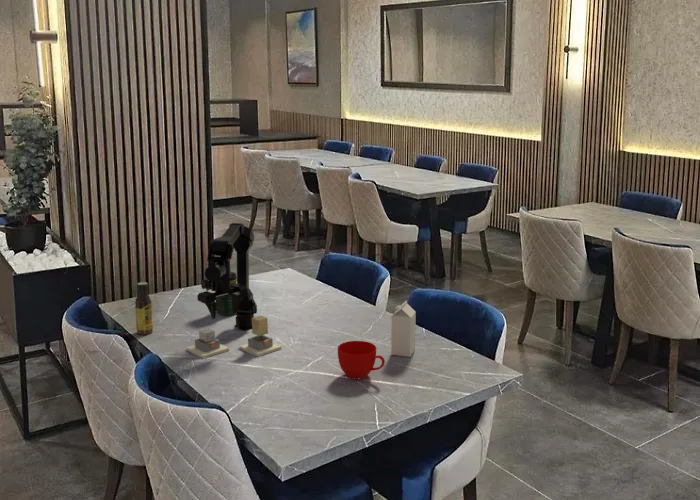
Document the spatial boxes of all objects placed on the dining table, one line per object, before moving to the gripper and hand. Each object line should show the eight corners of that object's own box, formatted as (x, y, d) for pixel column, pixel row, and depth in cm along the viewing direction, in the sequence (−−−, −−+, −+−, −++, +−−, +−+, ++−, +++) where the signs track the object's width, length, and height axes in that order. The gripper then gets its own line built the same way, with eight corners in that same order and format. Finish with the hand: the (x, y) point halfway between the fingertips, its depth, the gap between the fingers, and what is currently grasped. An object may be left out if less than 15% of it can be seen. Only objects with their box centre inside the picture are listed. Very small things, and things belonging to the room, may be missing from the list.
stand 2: (263, 341, 282) (263, 331, 281) (281, 348, 274) (281, 338, 274) (239, 348, 275) (239, 338, 274) (257, 356, 267) (257, 346, 266)
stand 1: (211, 342, 280) (211, 332, 280) (228, 350, 273) (228, 340, 272) (186, 350, 273) (185, 339, 272) (203, 358, 265) (202, 347, 264)
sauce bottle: (148, 335, 288) (145, 286, 283) (133, 334, 289) (130, 285, 284) (156, 330, 294) (153, 281, 289) (141, 329, 295) (138, 280, 290)
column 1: (209, 343, 275) (208, 328, 274) (215, 346, 273) (214, 331, 271) (199, 346, 273) (198, 330, 271) (205, 349, 270) (205, 333, 268)
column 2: (261, 330, 276) (260, 315, 275) (268, 333, 273) (267, 318, 272) (251, 333, 273) (251, 317, 272) (258, 336, 270) (258, 320, 269)
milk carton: (415, 350, 273) (416, 301, 269) (410, 357, 267) (411, 306, 262) (396, 348, 275) (397, 299, 271) (390, 355, 269) (391, 304, 264)
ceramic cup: (374, 389, 240) (374, 360, 238) (330, 377, 249) (330, 349, 247) (393, 375, 251) (393, 347, 249) (350, 365, 260) (350, 338, 257)
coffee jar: (241, 313, 314) (239, 271, 310) (225, 317, 309) (223, 274, 304) (228, 308, 321) (226, 266, 317) (212, 312, 316) (210, 269, 311)
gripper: (229, 265, 279) (231, 305, 282) (187, 275, 265) (189, 316, 269) (248, 271, 271) (249, 312, 275) (205, 281, 258) (207, 323, 262)
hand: (224, 315), depth 270 cm, fingers open, 9 cm apart
